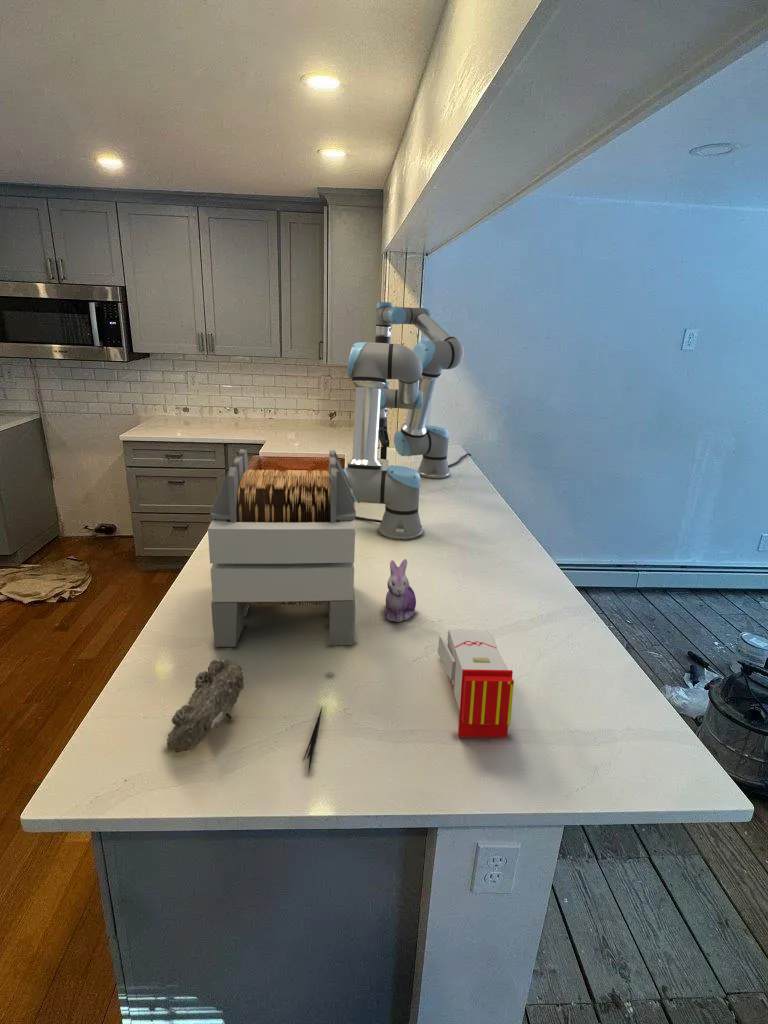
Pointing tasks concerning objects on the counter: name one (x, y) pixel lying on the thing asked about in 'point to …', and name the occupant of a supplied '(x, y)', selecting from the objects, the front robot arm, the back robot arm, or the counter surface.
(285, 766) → the counter surface
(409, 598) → the figurine
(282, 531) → the transformer
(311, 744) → the feather
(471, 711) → the toy
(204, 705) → the fossil
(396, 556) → the counter surface
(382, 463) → the block
